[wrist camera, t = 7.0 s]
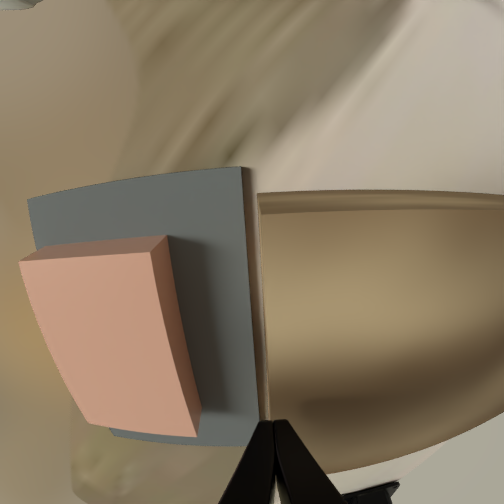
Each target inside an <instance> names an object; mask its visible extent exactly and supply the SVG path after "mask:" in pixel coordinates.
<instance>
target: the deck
mask: <svg viewBox="0 0 504 504" xmlns="http://www.w3.org/2000/svg"><path fill="white" fill-rule="evenodd" d="M257 202H258V219H259V236H260V254H261V272H262V291H263V310H264V330H265V350H266V371H267V393H268V416H269V420H271V421H274V420H279V419H287V420H288V421H289V423H290V424H291V426H292V427H293V429H294V430H295V431H296V433H297V434H298V436H299V437H300V439H301V440H302V442H303V443H304V445H305V446H306V447H307V449H308V450H309V452H310V453H311V455H312V456H313V457H314V459H315V460H316V462H317V463H318V464H319V466H320V467H321V469H322V470H323V471H324V473H325V474H331V473H337V472H342V471H347V470H352V469H357V468H361V467H365V466H370V465H374V464H377V463H381V462H385V461H388V460H392V459H395V458H399V457H402V456H405V455H408V454H411V453H414V452H417V451H420V450H423V449H425V448H428V447H431V446H433V445H436V444H438V443H441V442H443V441H446V440H448V439H451V438H453V437H455V436H457V435H460V434H462V433H464V432H466V431H468V430H470V429H472V428H474V427H477V426H479V425H481V424H482V423H484V422H486V421H488V420H490V419H492V418H494V417H496V416H497V415H499V414H501V413H503V412H504V195H496V194H483V193H467V192H448V191H422V190H320V191H291V192H270V193H257Z"/></svg>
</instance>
